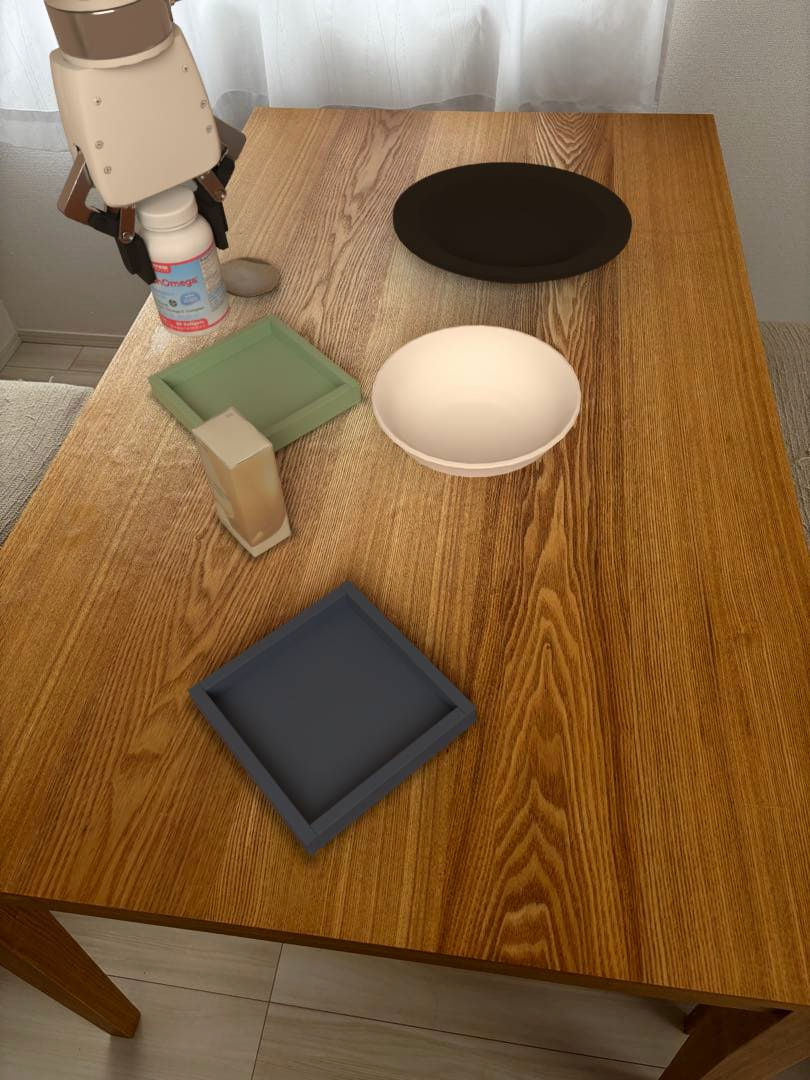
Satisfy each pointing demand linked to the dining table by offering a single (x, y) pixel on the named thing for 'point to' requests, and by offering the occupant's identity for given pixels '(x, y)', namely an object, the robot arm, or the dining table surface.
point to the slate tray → (331, 713)
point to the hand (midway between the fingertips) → (180, 257)
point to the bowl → (476, 399)
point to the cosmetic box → (243, 480)
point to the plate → (512, 222)
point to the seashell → (249, 277)
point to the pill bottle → (183, 263)
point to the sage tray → (258, 382)
